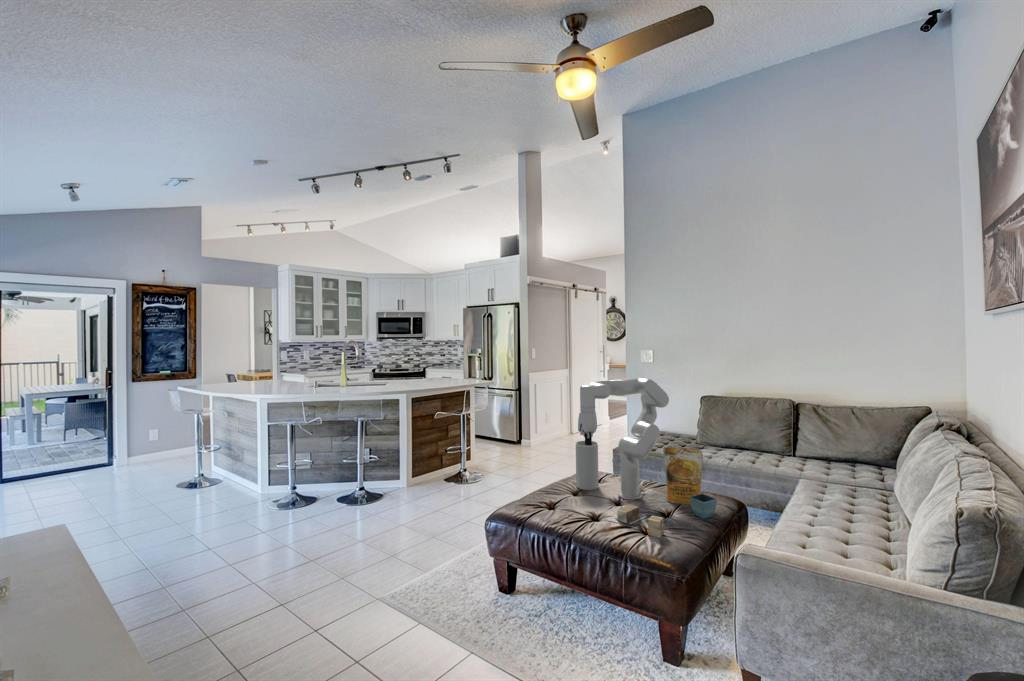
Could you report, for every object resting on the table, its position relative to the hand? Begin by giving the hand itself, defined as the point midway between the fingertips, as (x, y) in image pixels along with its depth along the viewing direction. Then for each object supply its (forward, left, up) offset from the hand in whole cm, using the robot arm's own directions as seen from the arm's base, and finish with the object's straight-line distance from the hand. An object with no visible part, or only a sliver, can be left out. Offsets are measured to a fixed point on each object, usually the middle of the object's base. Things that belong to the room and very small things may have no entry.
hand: (588, 445), depth 246 cm
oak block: (+4, +42, -31) cm, 52 cm away
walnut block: (+5, +24, -28) cm, 37 cm away
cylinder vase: (-20, -19, -31) cm, 42 cm away
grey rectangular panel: (-2, +24, -31) cm, 39 cm away
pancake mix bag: (-38, +30, -31) cm, 58 cm away
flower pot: (-29, +46, -31) cm, 63 cm away
